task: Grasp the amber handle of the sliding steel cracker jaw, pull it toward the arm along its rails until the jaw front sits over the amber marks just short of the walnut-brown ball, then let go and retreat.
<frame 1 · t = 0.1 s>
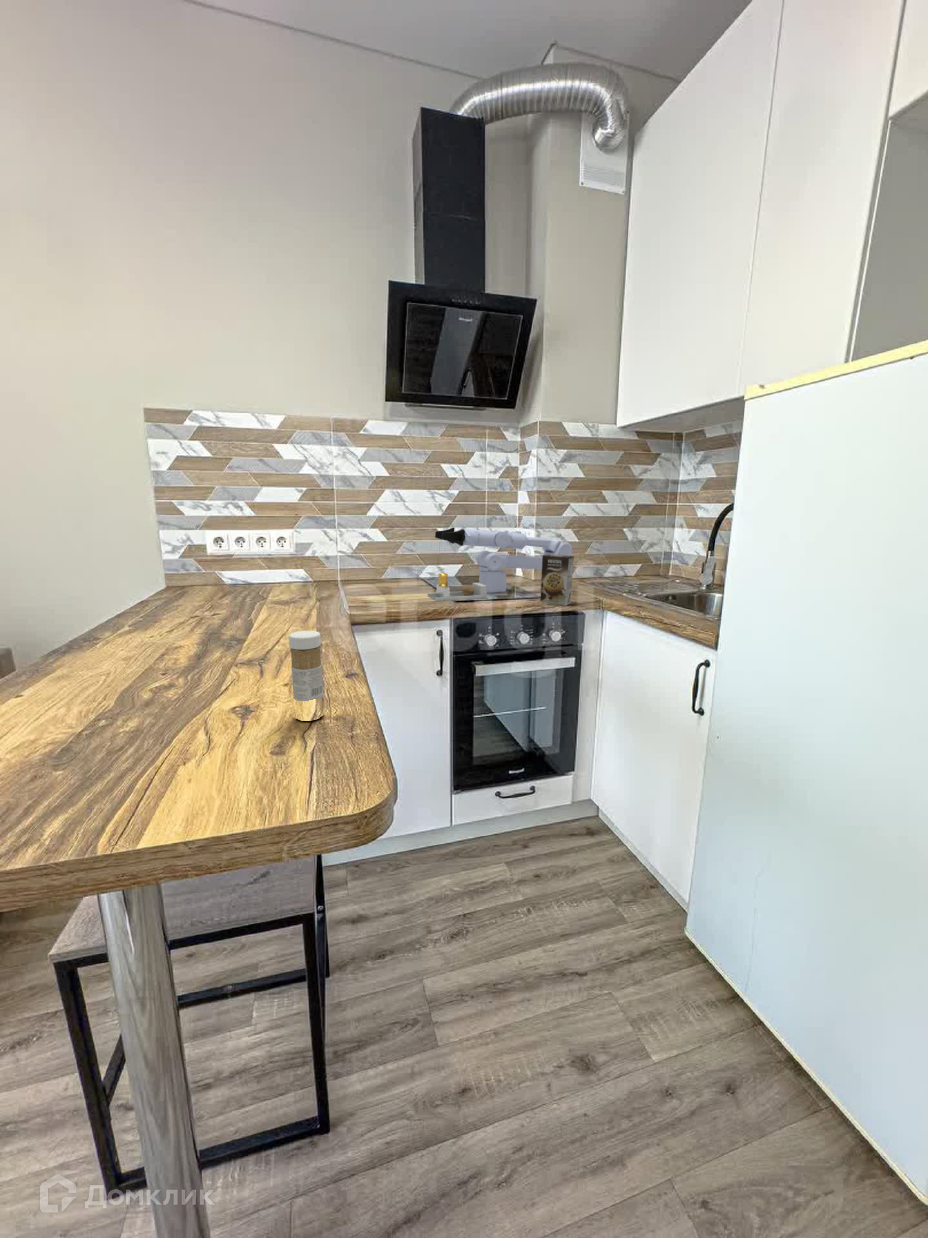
hand: (438, 535, 180), 22 cm above the countertop, tool horizontal, fingers open, 7 cm apart
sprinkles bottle: (309, 718, 81), on the countertop
coffee box: (555, 604, 176), on the countertop
cracker jaw: (443, 585, 175), point 6 cm above the countertop, slide at 0.0 cm
cracker base: (457, 601, 178), on the countertop
walnut: (468, 596, 179), point 1 cm above the countertop, touching cracker base
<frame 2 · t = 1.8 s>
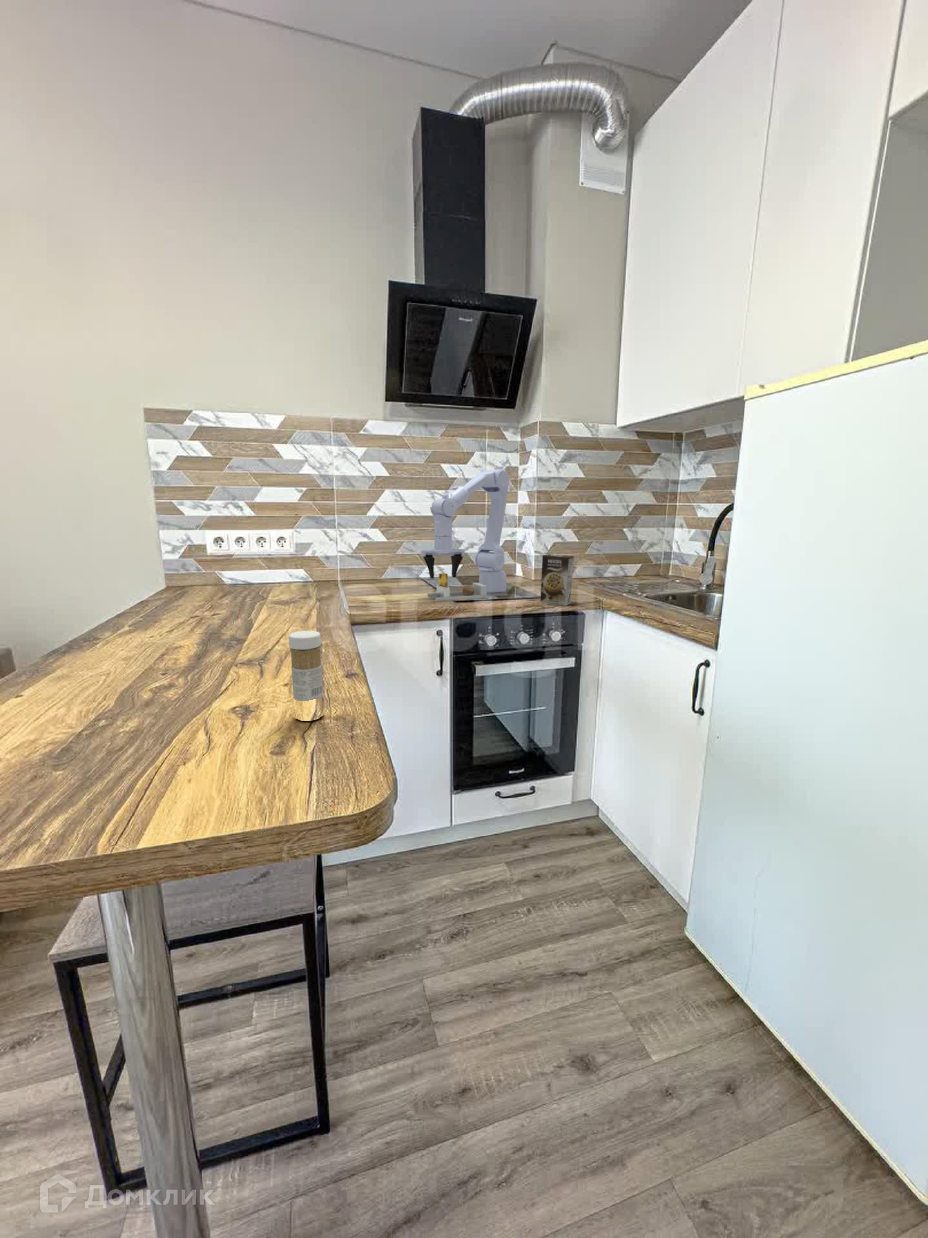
hand: (442, 577, 174), 8 cm above the countertop, tool pointing down, fingers open, 7 cm apart
nothing on the countertop moved.
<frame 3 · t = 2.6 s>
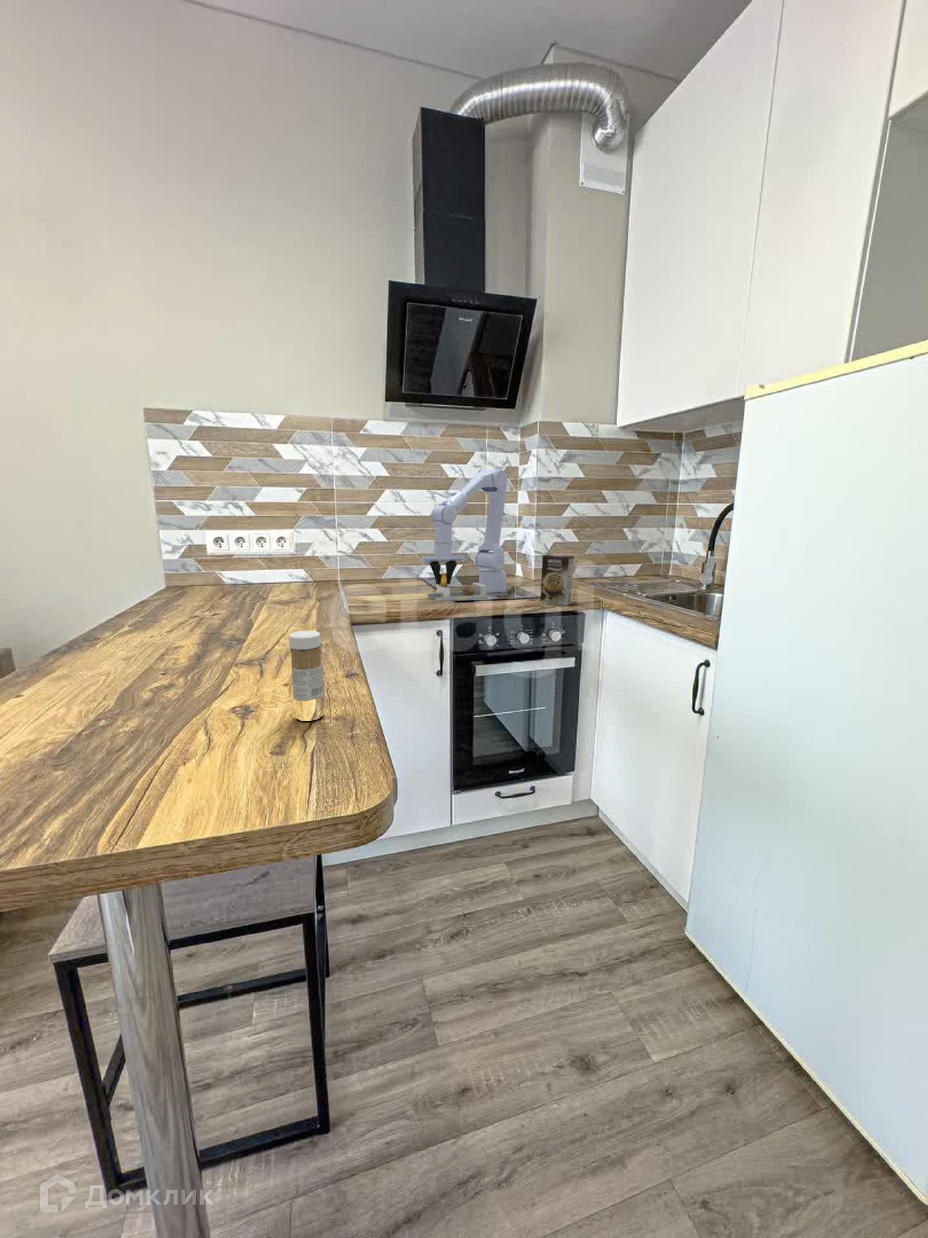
hand: (443, 583, 175), 6 cm above the countertop, tool pointing down, fingers closed on cracker jaw, 3 cm apart
cracker jaw: (443, 585, 175), point 6 cm above the countertop, slide at 0.0 cm, touching gripper
everything else where it was.
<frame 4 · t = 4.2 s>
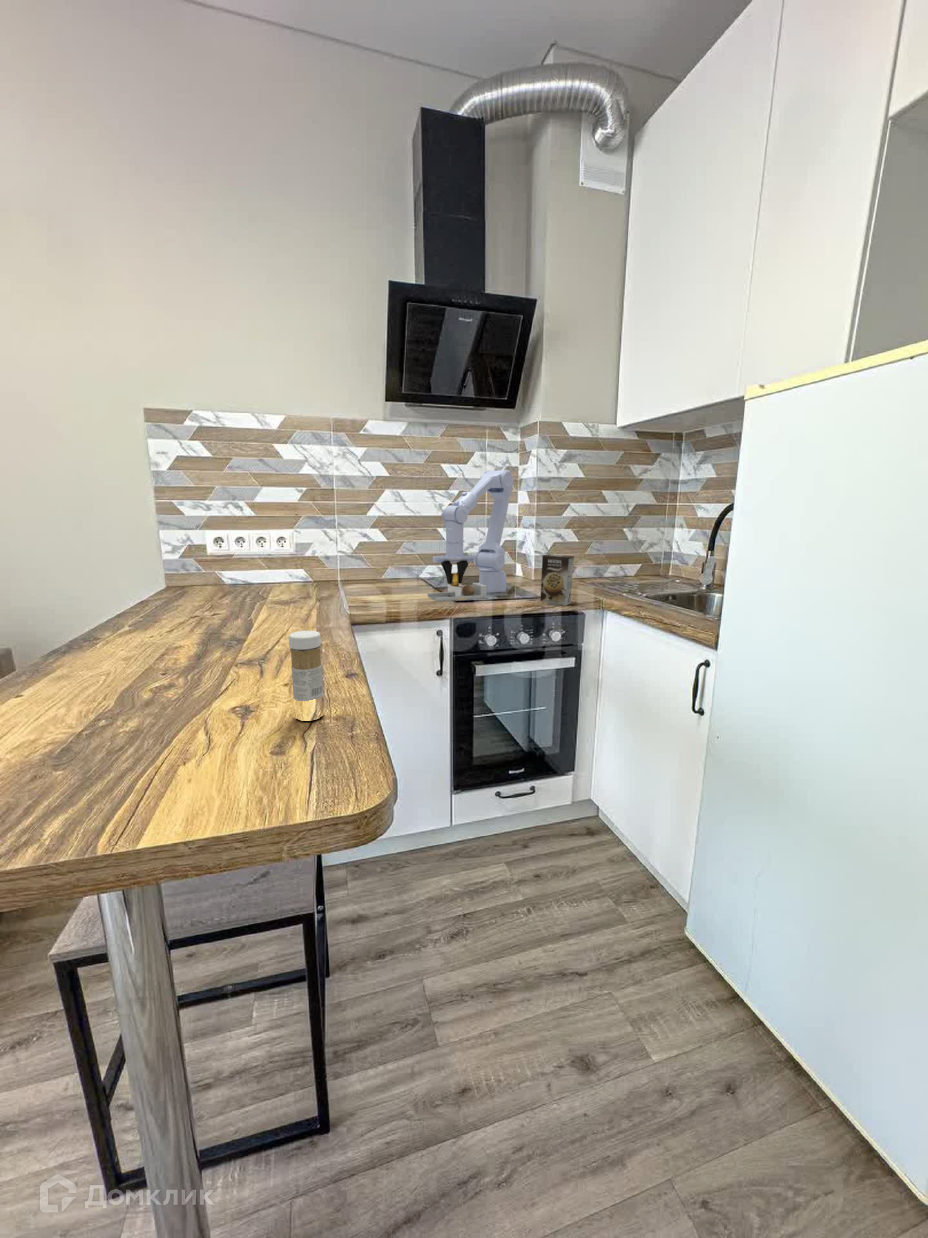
hand: (454, 583, 176), 6 cm above the countertop, tool pointing down, fingers closed on cracker jaw, 3 cm apart
cracker jaw: (454, 584, 176), point 6 cm above the countertop, slide at 4.0 cm, touching gripper
everything else where it was.
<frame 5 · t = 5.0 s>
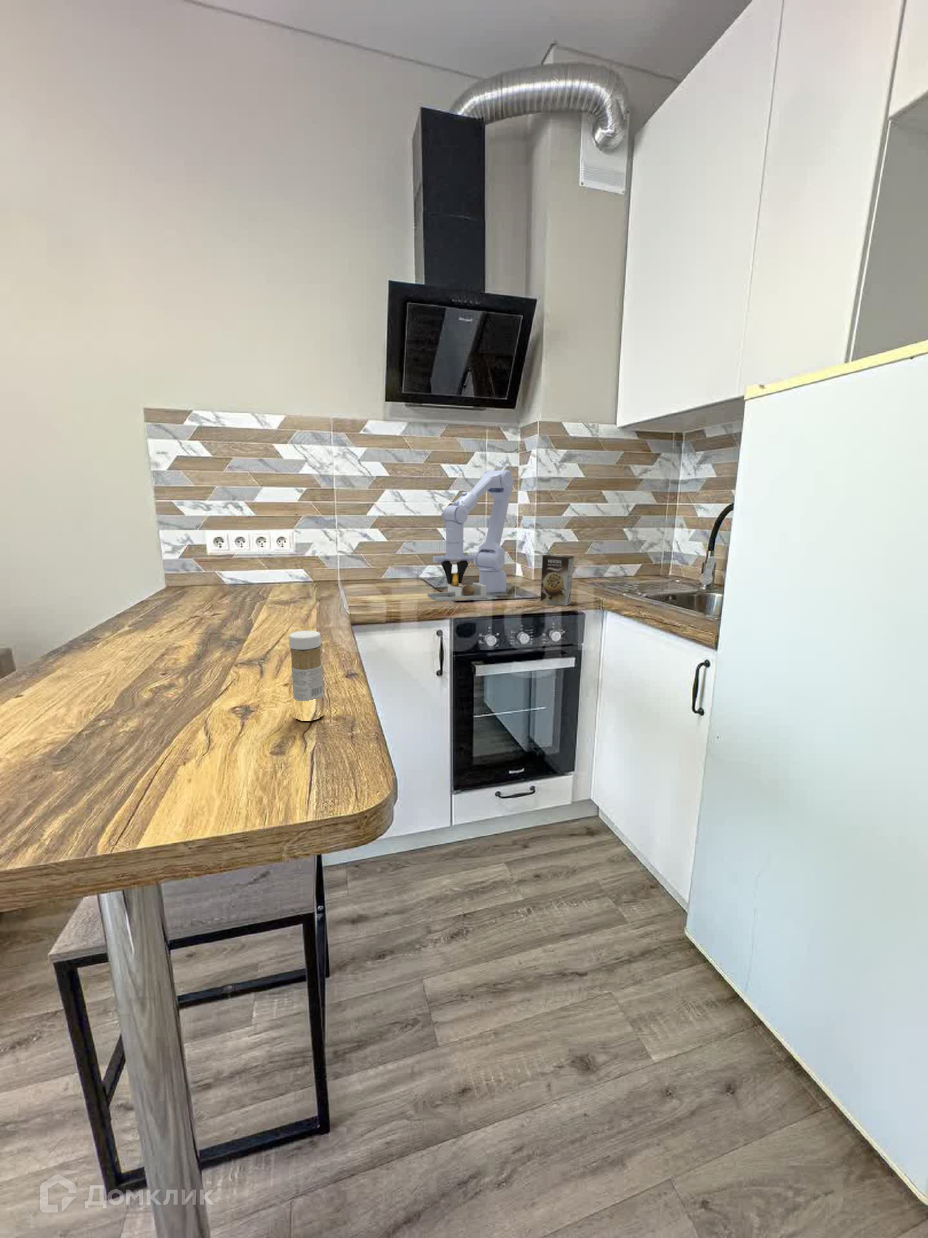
hand: (454, 583, 176), 6 cm above the countertop, tool pointing down, fingers closed on cracker jaw, 3 cm apart
cracker jaw: (454, 584, 176), point 6 cm above the countertop, slide at 4.0 cm, touching gripper
everything else where it was.
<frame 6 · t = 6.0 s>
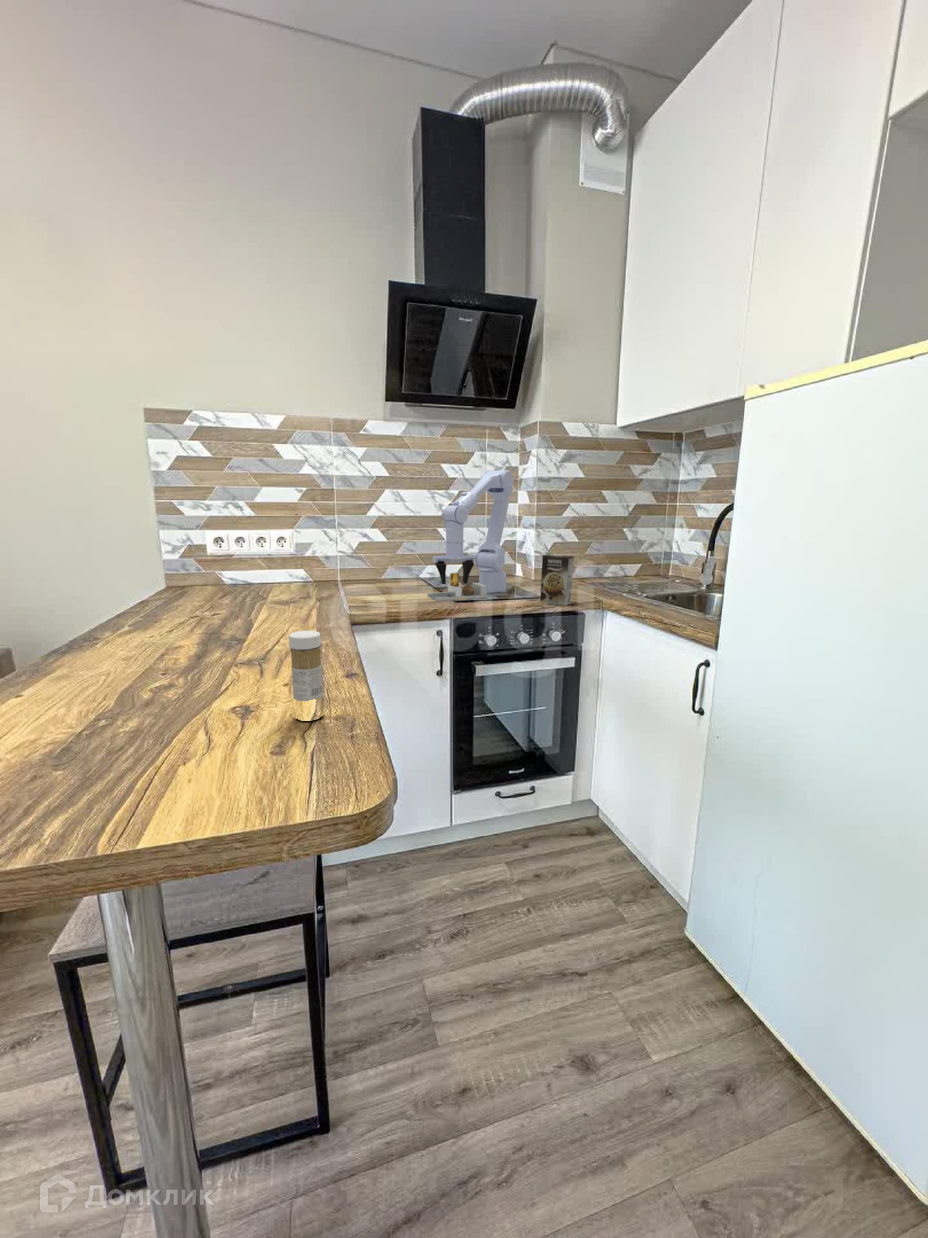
hand: (454, 583, 176), 6 cm above the countertop, tool pointing down, fingers open, 7 cm apart
cracker jaw: (454, 584, 176), point 6 cm above the countertop, slide at 4.0 cm
everything else where it was.
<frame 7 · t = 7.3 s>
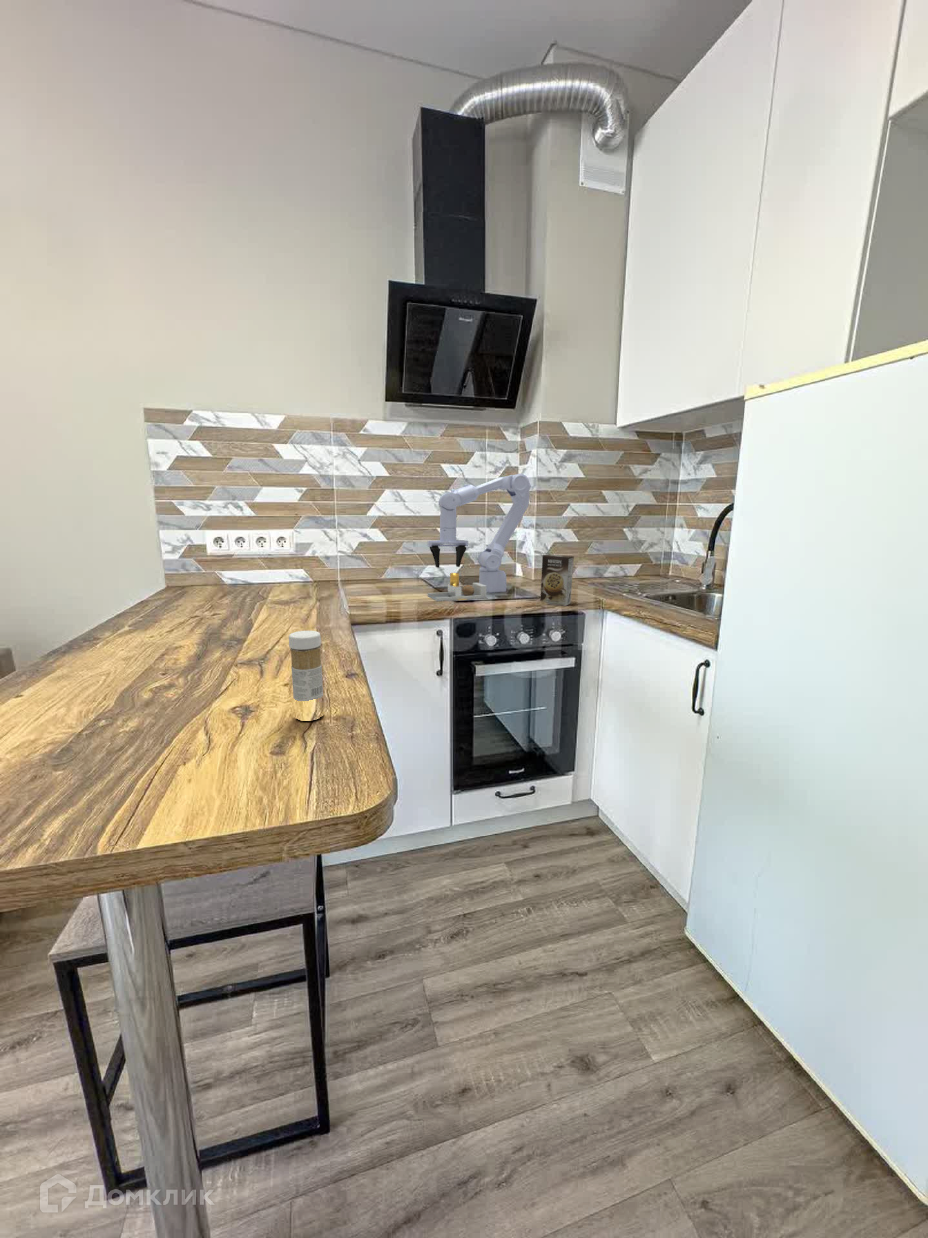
hand: (447, 567, 186), 10 cm above the countertop, tool pointing down, fingers open, 7 cm apart
nothing on the countertop moved.
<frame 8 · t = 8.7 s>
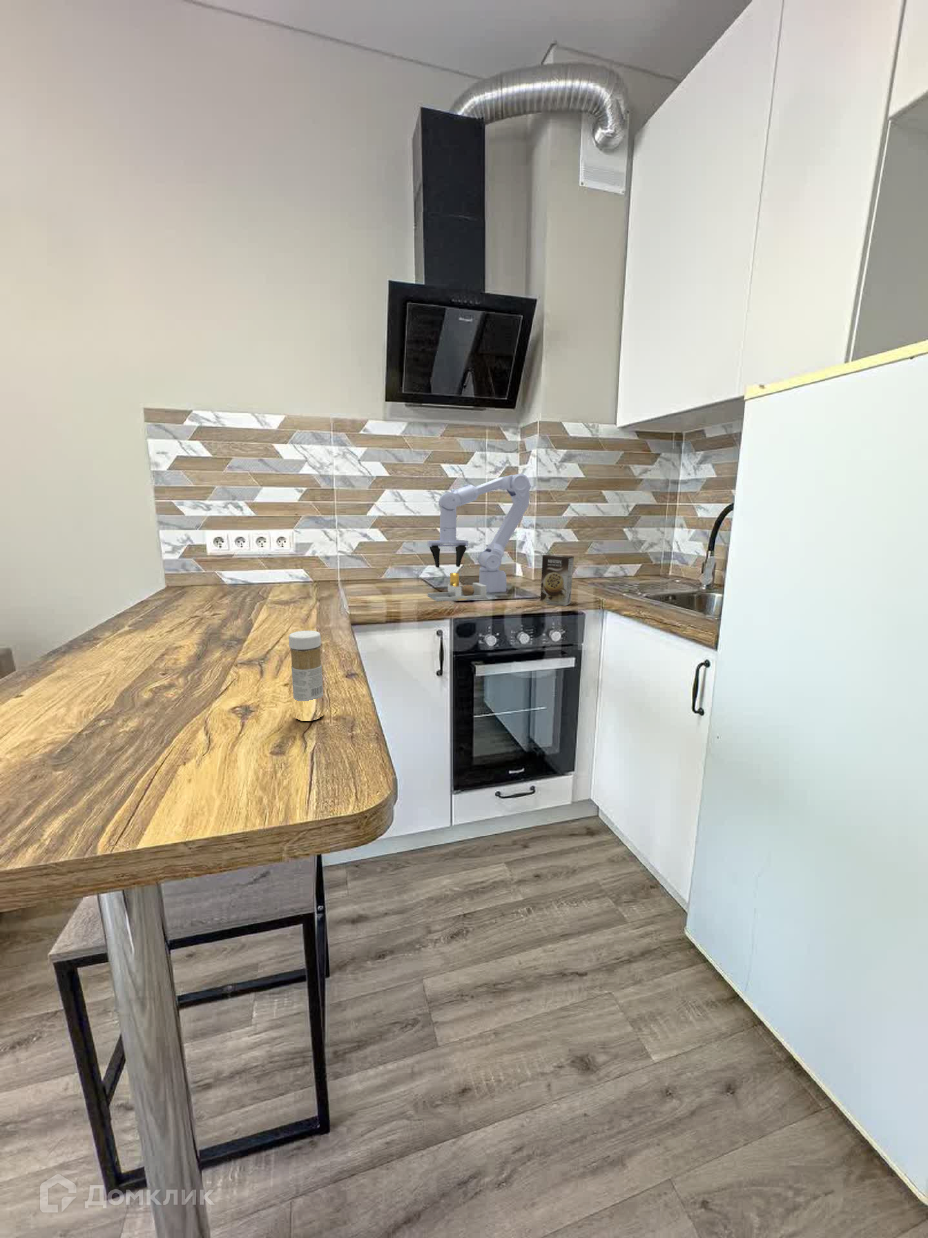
hand: (447, 567, 186), 10 cm above the countertop, tool pointing down, fingers open, 7 cm apart
nothing on the countertop moved.
at the end: cracker jaw slide at 4.0 cm; walnut moved 0.0 cm from its start; the gripper is holding nothing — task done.
